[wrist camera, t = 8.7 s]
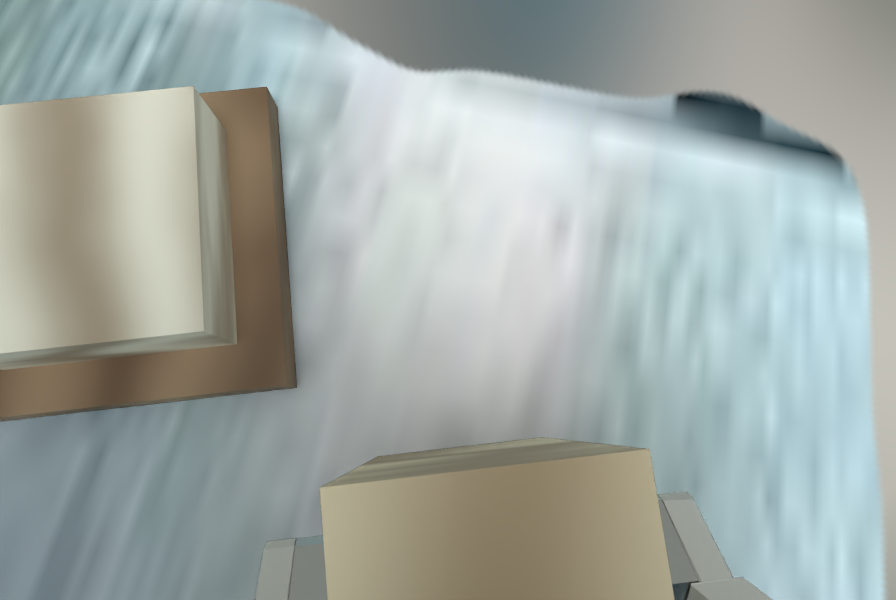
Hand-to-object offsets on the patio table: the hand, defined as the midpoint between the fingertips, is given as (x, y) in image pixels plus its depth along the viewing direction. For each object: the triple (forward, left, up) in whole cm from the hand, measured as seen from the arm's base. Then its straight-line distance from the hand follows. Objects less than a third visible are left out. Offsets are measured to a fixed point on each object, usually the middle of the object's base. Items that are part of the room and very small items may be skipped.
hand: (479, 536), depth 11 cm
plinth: (-14, +11, -18) cm, 26 cm away
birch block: (0, -1, -4) cm, 4 cm away
